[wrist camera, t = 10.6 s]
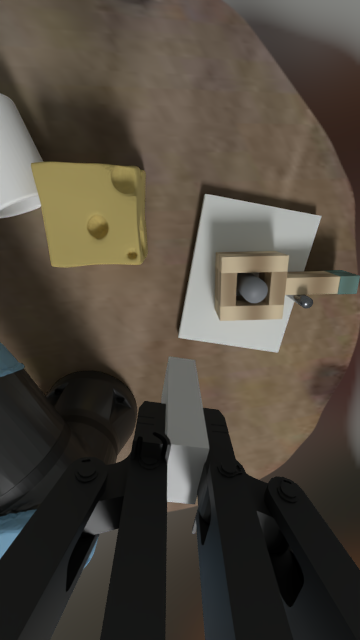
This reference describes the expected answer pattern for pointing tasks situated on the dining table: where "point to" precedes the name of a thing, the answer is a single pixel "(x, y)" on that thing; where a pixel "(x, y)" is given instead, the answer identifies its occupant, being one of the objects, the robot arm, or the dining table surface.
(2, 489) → the robot arm
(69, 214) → the cheese
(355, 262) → the dining table surface
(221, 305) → the wooden frame with handle
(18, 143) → the mug
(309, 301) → the dowel
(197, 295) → the base
